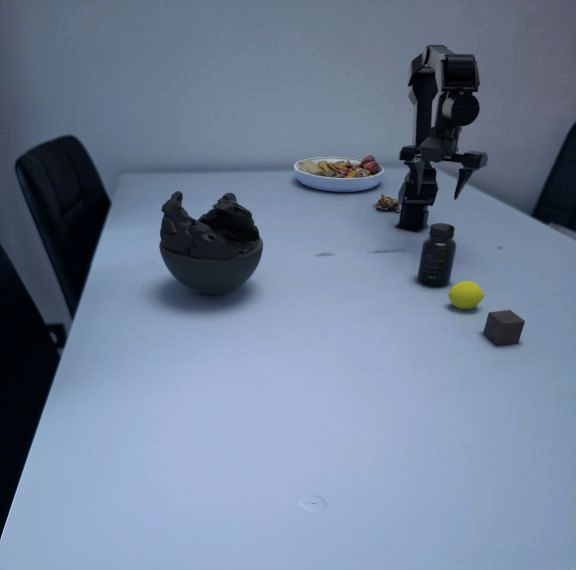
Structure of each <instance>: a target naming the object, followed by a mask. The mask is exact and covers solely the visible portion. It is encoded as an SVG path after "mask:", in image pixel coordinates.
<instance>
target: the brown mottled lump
mask: <svg viewBox="0 0 576 570" xmlns="http://www.w3.org/2000/svg"><path fill="white" fill-rule="evenodd" d="M380 197H381V198H380V199H378V200H377V202H376V203H375V208H379V209H381V210H388V209H395V212H396V213H399V214H400V212H401V209H400V208H399V205H400V203H399V202H398V198H393V197H391V196H385V194H383V193H381V195H380Z"/></svg>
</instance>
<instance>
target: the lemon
mask: <svg viewBox="0 0 576 570" xmlns="http://www.w3.org/2000/svg"><path fill="white" fill-rule="evenodd" d="M447 296H448V299H449V301H450V303H451V304H452V305H453V306H454V307H457V308H459V309H461V310H468V309H469V310H470V309H472V308H475V307H477V306H478V305H479V304H480V302H481V301H482V300H483V298H484V297H485V293H484V292H483V290H482V288H481V286H480V285H479V284H478V283H476V282H475V281H470V280H462V281H459V282H457V283H456V284H454V285H453V286H452V287H451V288H450V290H449V291H448V293H447Z"/></svg>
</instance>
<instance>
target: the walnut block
mask: <svg viewBox="0 0 576 570" xmlns="http://www.w3.org/2000/svg"><path fill="white" fill-rule="evenodd" d="M525 323H526V321H525V320H524V319H523V318H522V317H520V316H519V315H518V314H517V313H515V312H514V311H512V310H511V309H507V310H505V309H504V310H497V311H490V312H488V314H487V317H486V321H485V325H484V328H483V331H482V332H483V333H482V335H483V336H485V338H487V339H488V340H489V341H490V342H491V343H493V344H494V345H495V346H496V347H501V346H507V345H514V344H518V343H519V342H520V339H521V336H522V333H523V330H524V326H525Z"/></svg>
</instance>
